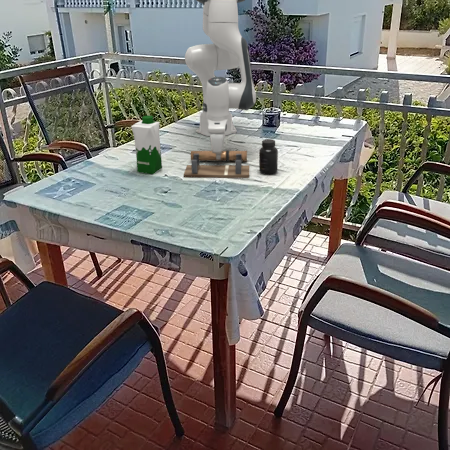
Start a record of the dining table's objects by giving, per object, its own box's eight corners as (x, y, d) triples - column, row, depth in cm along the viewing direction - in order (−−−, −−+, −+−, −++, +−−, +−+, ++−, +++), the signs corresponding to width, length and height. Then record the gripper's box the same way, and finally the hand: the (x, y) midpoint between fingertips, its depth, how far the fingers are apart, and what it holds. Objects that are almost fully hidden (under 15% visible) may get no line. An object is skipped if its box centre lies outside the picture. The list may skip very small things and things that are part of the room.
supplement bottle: (267, 167, 183) (268, 136, 177) (281, 171, 178) (282, 140, 173) (255, 172, 179) (255, 141, 173) (269, 176, 174) (269, 145, 169)
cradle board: (187, 167, 184) (187, 164, 183) (249, 167, 182) (249, 165, 182) (183, 177, 175) (183, 174, 175) (249, 177, 174) (249, 175, 173)
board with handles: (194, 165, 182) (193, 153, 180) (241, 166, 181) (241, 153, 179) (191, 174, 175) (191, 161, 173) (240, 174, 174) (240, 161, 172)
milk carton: (165, 167, 184) (161, 116, 175) (154, 175, 177) (149, 122, 168) (145, 164, 187) (140, 114, 178) (133, 173, 180) (127, 120, 170)
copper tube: (190, 162, 188) (190, 152, 186) (192, 159, 192) (191, 149, 190) (246, 162, 187) (246, 152, 185) (247, 159, 190) (247, 149, 189)
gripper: (212, 114, 191) (213, 147, 198) (207, 129, 173) (208, 165, 180) (228, 114, 191) (228, 147, 197) (224, 130, 173) (225, 165, 179)
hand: (219, 156), depth 189 cm, fingers closed on copper tube, 4 cm apart
